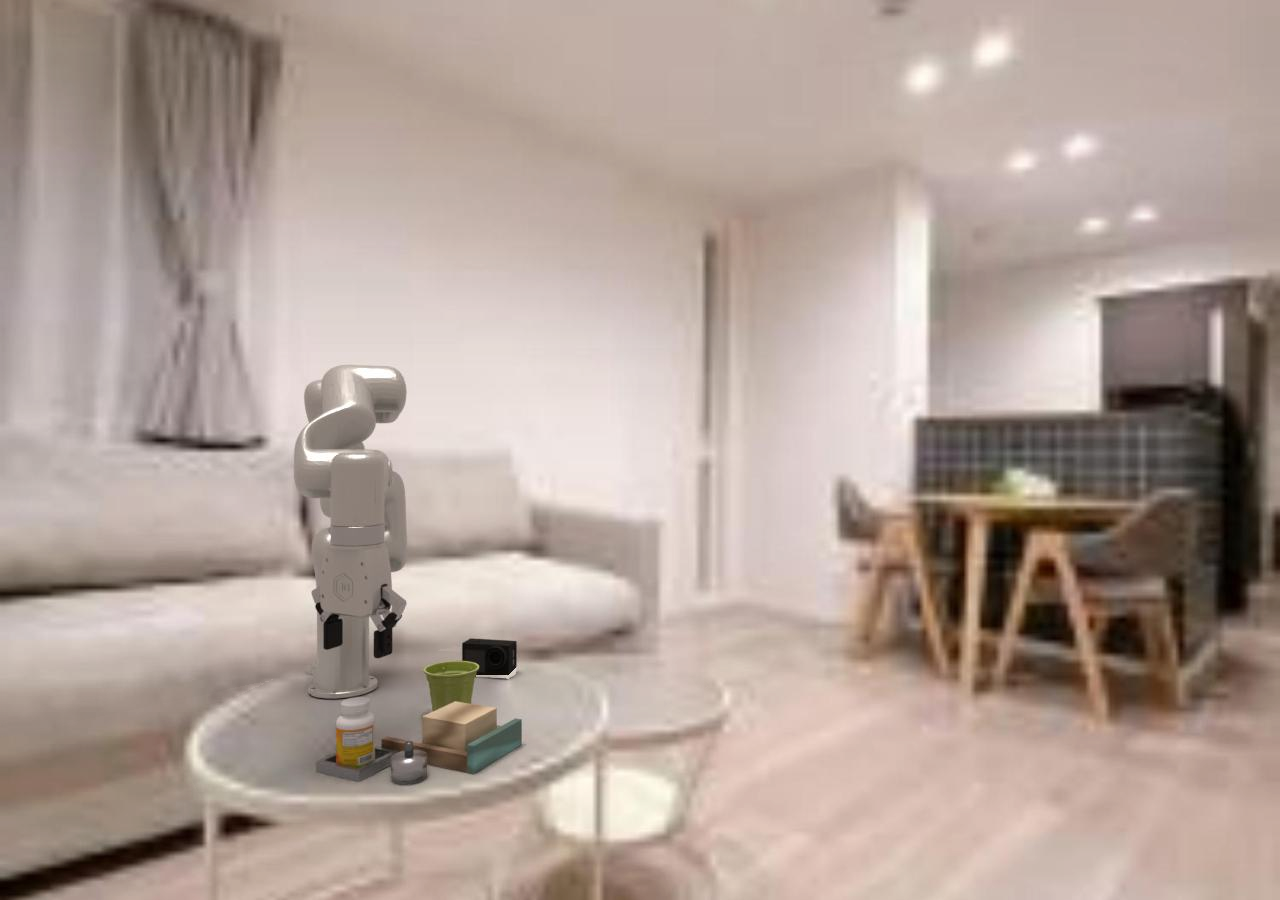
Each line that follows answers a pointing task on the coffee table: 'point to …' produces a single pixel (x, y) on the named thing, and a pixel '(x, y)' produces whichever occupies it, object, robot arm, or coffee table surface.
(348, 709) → the supplement bottle
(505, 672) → the digital camera
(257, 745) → the coffee table surface
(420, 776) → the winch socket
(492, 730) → the bay
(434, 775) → the coffee table surface
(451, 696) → the plant pot
